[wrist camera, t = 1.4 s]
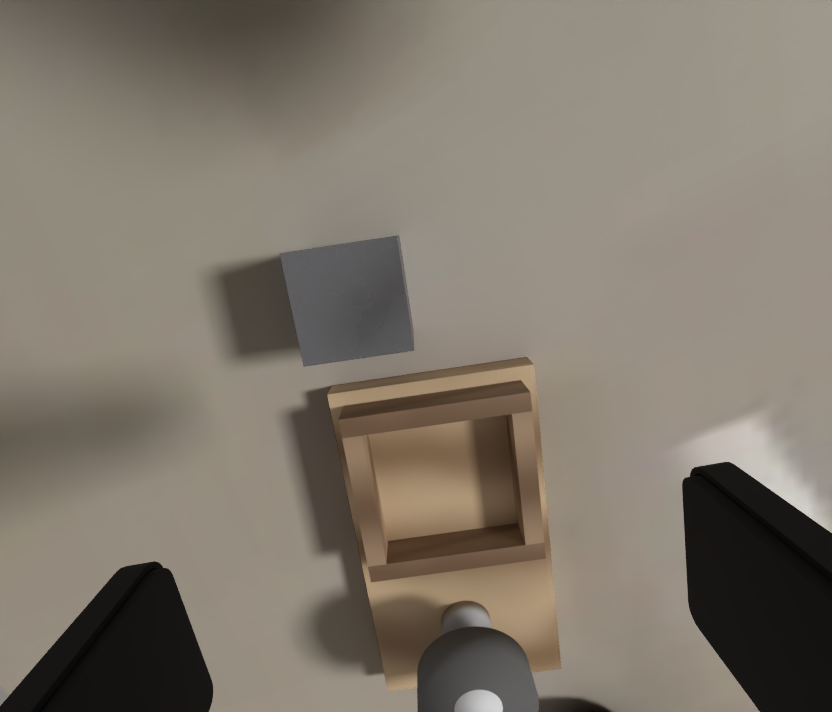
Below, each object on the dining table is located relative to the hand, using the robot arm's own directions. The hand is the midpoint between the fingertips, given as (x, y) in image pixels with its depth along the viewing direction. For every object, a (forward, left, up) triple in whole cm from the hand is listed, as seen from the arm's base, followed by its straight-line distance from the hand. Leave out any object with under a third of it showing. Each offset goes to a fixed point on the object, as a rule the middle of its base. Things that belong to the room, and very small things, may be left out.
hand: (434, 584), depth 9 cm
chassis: (+11, 0, -18) cm, 21 cm away
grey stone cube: (-4, -3, -18) cm, 19 cm away
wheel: (+17, 0, -13) cm, 21 cm away
